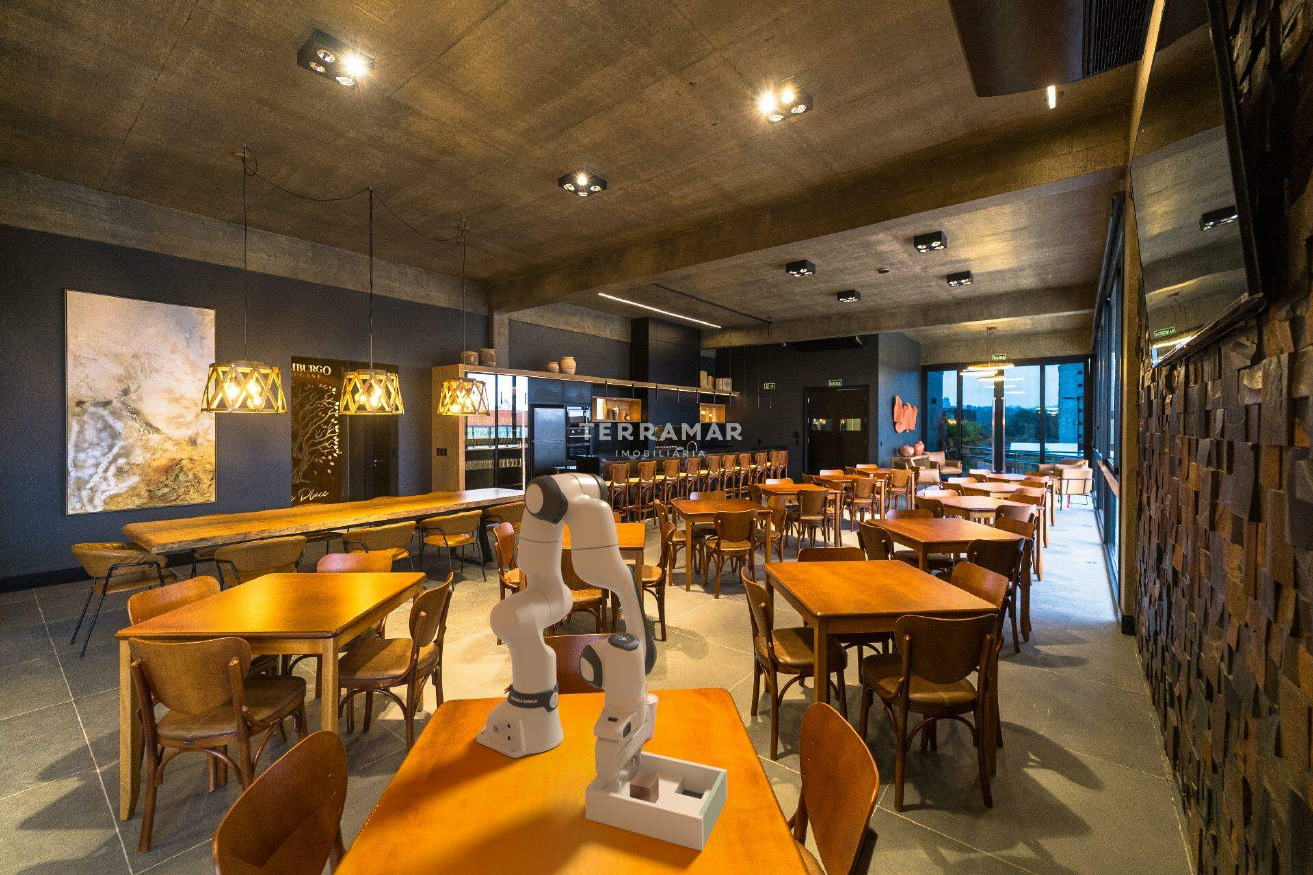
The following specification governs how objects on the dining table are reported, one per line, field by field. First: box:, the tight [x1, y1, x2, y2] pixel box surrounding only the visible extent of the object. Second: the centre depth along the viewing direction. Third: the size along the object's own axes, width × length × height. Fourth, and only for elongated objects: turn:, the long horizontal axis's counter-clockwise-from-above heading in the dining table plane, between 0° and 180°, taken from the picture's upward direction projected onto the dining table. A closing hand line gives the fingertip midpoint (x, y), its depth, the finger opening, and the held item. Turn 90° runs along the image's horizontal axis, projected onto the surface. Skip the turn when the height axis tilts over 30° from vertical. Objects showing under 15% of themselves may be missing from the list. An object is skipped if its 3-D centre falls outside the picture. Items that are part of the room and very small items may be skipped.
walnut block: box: [630, 772, 659, 803], centre depth 117 cm, size 4×4×4 cm
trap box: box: [584, 750, 728, 852], centre depth 119 cm, size 25×17×6 cm
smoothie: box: [644, 681, 659, 740], centre depth 148 cm, size 6×6×14 cm
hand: (626, 776), depth 123 cm, fingers open, 8 cm apart
